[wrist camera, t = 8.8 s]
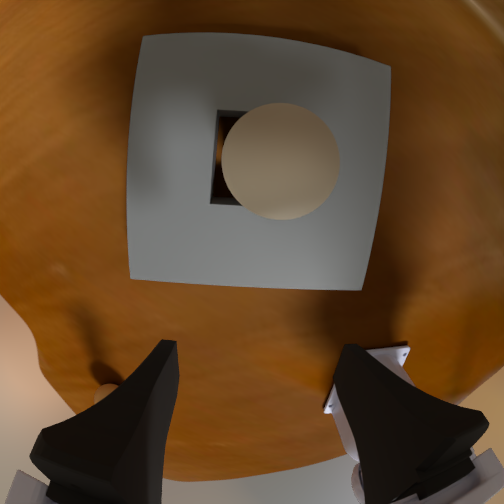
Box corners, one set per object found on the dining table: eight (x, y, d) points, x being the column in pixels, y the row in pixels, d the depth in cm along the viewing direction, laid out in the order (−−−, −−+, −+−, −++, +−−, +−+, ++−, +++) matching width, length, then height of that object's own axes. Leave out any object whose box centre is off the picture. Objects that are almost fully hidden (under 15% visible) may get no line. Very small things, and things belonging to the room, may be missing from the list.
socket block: (346, 273, 22) (361, 290, 19) (142, 262, 20) (130, 278, 17) (371, 75, 16) (390, 66, 13) (154, 50, 15) (143, 36, 12)
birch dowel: (284, 189, 19) (332, 223, 10) (226, 185, 19) (218, 216, 9) (288, 133, 18) (343, 112, 8) (230, 128, 17) (225, 98, 8)
